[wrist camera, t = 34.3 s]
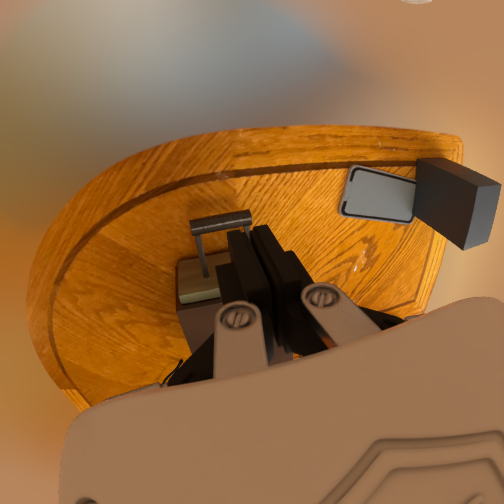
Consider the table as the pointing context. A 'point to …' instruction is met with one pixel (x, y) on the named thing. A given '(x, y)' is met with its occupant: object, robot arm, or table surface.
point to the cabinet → (210, 324)
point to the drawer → (207, 257)
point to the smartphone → (377, 196)
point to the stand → (455, 201)
